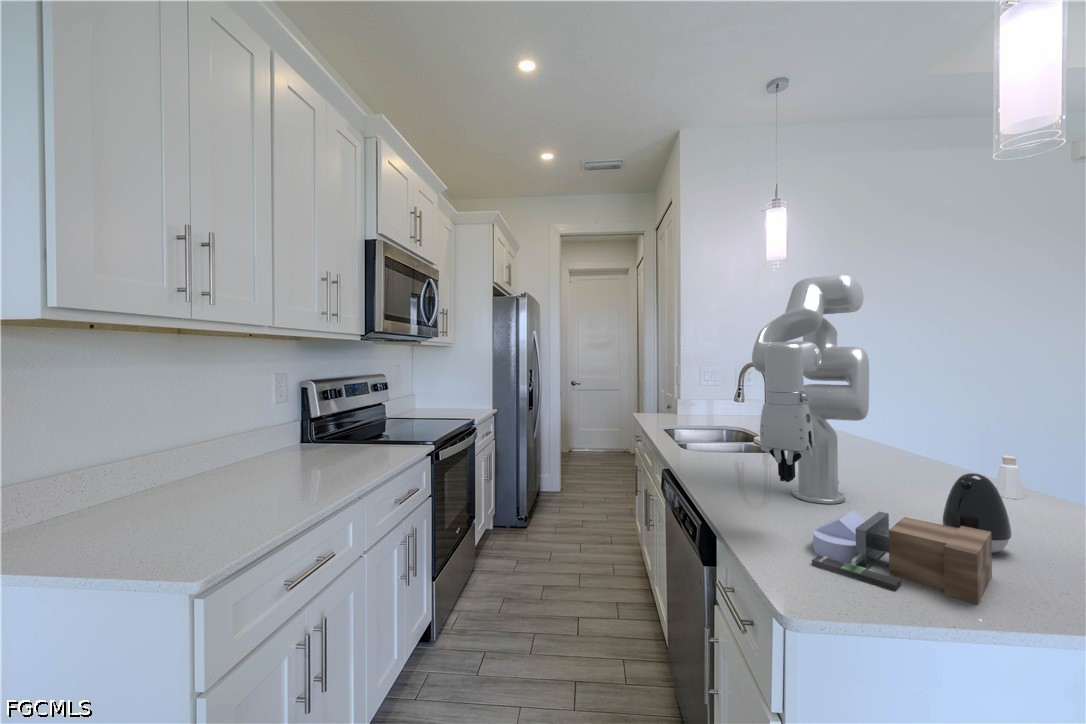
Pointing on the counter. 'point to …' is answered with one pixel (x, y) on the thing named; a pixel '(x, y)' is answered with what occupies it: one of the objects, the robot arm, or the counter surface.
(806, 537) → the counter surface
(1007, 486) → the salt shaker
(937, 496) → the counter surface
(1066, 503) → the counter surface
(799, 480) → the robot arm
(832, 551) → the wedge on round base
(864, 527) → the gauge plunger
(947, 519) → the black egg-shaped piece
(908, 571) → the frame
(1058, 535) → the counter surface
